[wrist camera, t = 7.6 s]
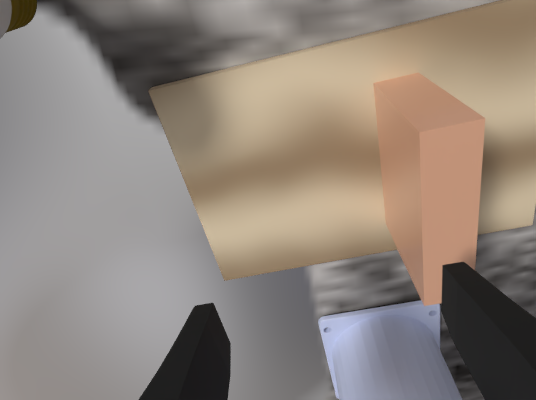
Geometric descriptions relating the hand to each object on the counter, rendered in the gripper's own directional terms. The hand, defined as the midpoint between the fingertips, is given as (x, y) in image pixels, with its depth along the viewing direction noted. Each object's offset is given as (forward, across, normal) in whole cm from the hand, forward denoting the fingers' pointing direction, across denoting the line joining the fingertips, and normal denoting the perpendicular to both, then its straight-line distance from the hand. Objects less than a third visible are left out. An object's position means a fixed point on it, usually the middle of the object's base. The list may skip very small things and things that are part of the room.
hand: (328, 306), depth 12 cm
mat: (+9, -3, 0) cm, 10 cm away
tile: (+9, -5, 0) cm, 10 cm away
